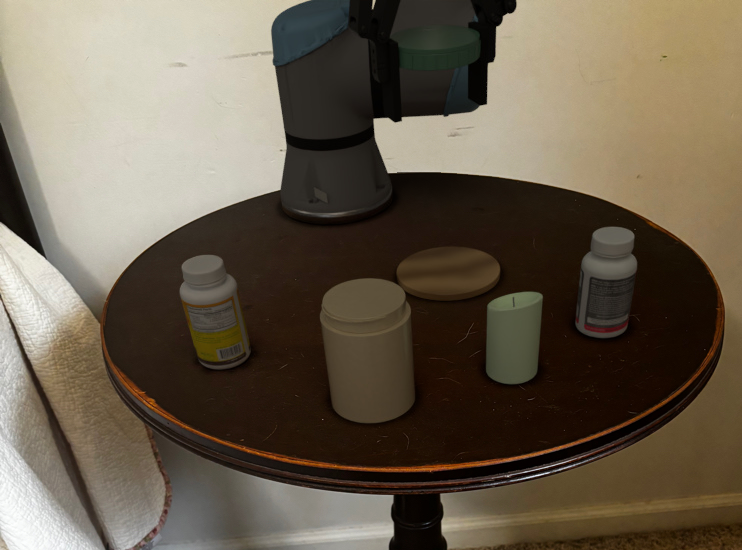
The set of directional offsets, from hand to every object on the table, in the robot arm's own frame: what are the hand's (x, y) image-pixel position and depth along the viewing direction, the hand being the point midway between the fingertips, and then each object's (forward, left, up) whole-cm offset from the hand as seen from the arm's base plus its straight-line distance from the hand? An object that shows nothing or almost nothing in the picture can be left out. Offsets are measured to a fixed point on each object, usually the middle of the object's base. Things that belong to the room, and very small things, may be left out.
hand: (435, 109), depth 78 cm
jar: (+17, -15, -19) cm, 29 cm away
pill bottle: (+16, +11, -19) cm, 27 cm away
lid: (0, 0, +6) cm, 6 cm away
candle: (+19, -1, -19) cm, 27 cm away
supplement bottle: (+3, -26, -19) cm, 32 cm away
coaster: (-2, +2, -19) cm, 19 cm away
